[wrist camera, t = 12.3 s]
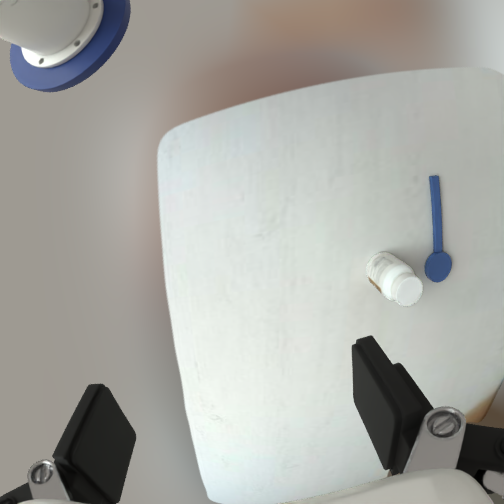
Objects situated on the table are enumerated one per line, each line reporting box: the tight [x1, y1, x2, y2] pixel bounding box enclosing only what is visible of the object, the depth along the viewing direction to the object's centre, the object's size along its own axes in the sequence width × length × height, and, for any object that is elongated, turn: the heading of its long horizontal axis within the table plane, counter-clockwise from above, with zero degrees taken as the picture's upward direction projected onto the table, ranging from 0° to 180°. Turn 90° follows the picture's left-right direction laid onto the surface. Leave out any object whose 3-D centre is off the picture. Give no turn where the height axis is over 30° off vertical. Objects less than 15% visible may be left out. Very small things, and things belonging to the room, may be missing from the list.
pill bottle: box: [366, 252, 423, 307], centre depth 33 cm, size 4×4×8 cm
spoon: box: [425, 175, 452, 282], centre depth 36 cm, size 14×4×1 cm, turn 11°
